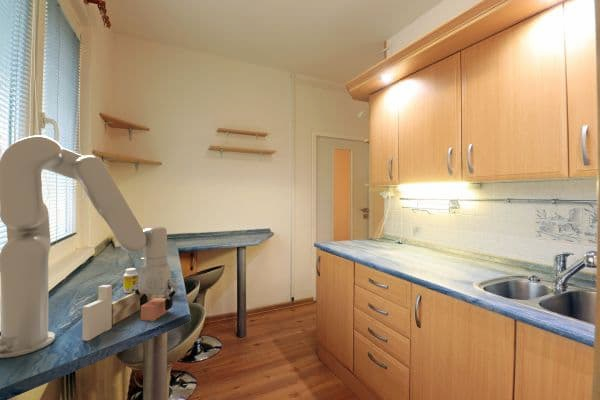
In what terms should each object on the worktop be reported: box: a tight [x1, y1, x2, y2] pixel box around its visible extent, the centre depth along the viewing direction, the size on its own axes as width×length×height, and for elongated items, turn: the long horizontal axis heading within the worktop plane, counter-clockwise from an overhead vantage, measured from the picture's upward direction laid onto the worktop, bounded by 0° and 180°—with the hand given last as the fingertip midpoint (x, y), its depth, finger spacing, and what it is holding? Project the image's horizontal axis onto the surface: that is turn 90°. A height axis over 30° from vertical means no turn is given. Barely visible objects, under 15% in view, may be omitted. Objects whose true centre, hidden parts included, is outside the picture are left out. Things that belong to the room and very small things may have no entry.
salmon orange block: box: [140, 297, 169, 322], centre depth 99 cm, size 8×5×5 cm, turn 173°
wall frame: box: [81, 284, 168, 342], centre depth 101 cm, size 40×3×14 cm, turn 173°
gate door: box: [112, 292, 156, 326], centre depth 102 cm, size 24×1×7 cm, turn 173°
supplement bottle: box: [122, 267, 139, 294], centre depth 124 cm, size 6×6×10 cm
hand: (156, 308), depth 100 cm, fingers open, 9 cm apart
